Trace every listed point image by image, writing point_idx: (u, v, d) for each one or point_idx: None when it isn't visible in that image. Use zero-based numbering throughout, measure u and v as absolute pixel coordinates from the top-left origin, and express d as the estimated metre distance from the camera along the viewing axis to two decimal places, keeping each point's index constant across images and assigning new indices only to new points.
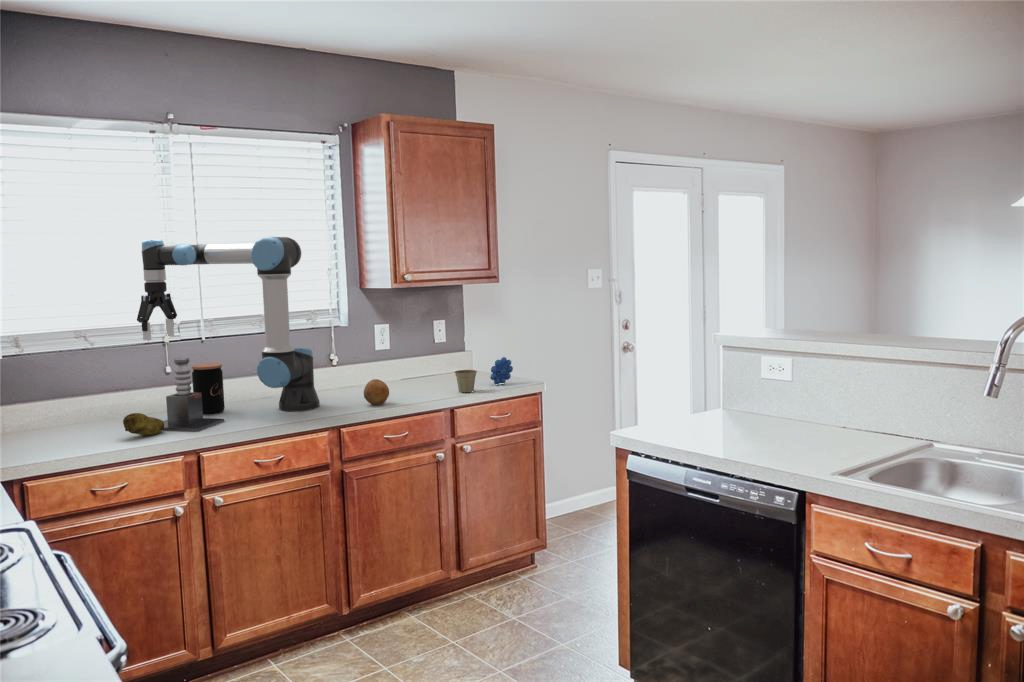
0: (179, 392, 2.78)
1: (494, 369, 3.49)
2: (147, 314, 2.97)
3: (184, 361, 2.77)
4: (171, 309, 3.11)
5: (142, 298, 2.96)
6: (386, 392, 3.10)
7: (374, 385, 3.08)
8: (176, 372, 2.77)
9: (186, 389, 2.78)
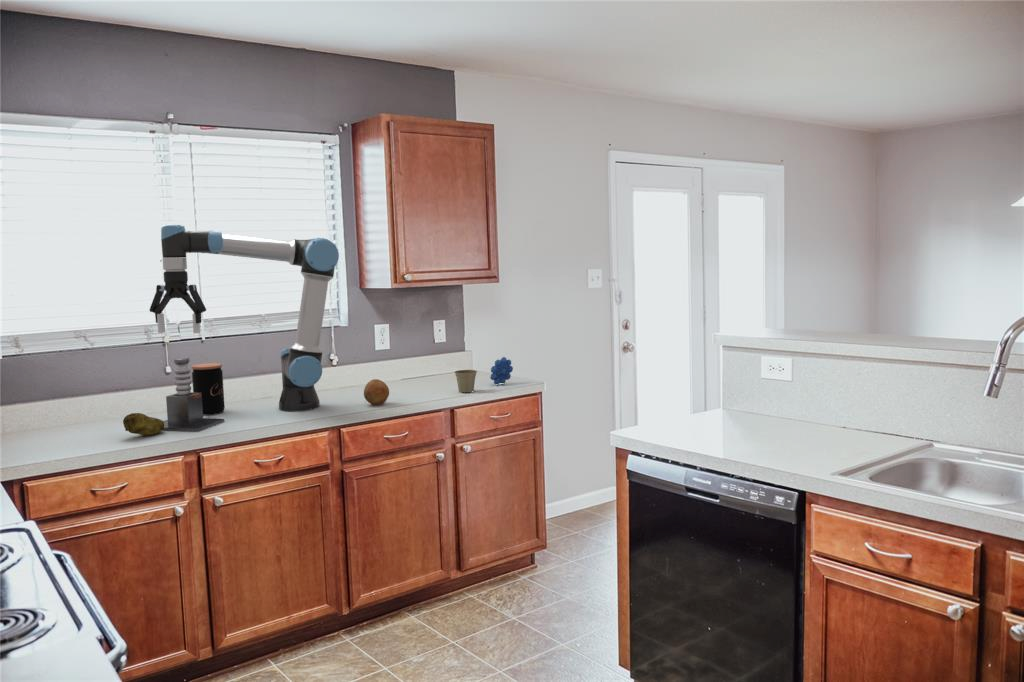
0: (179, 392, 2.78)
1: (494, 369, 3.49)
2: None
3: (184, 361, 2.77)
4: None
5: None
6: (386, 392, 3.10)
7: (374, 385, 3.08)
8: (176, 372, 2.77)
9: (186, 389, 2.78)
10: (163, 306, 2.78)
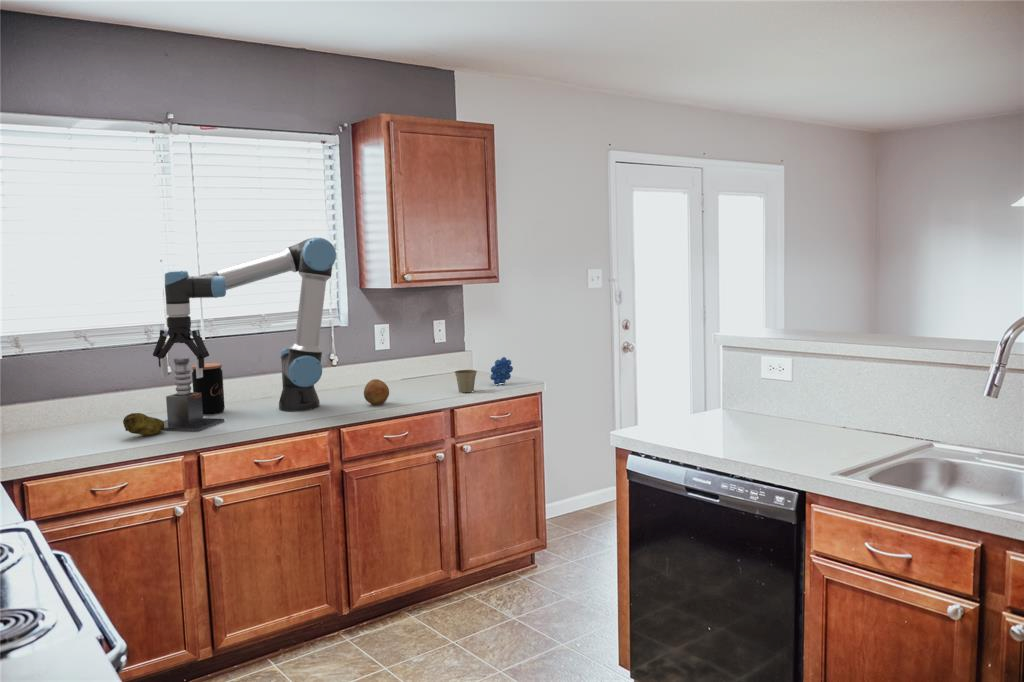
0: (179, 392, 2.78)
1: (494, 369, 3.49)
2: None
3: (184, 361, 2.77)
4: None
5: None
6: (386, 392, 3.10)
7: (374, 385, 3.08)
8: (176, 372, 2.77)
9: (186, 389, 2.78)
10: (166, 351, 2.79)
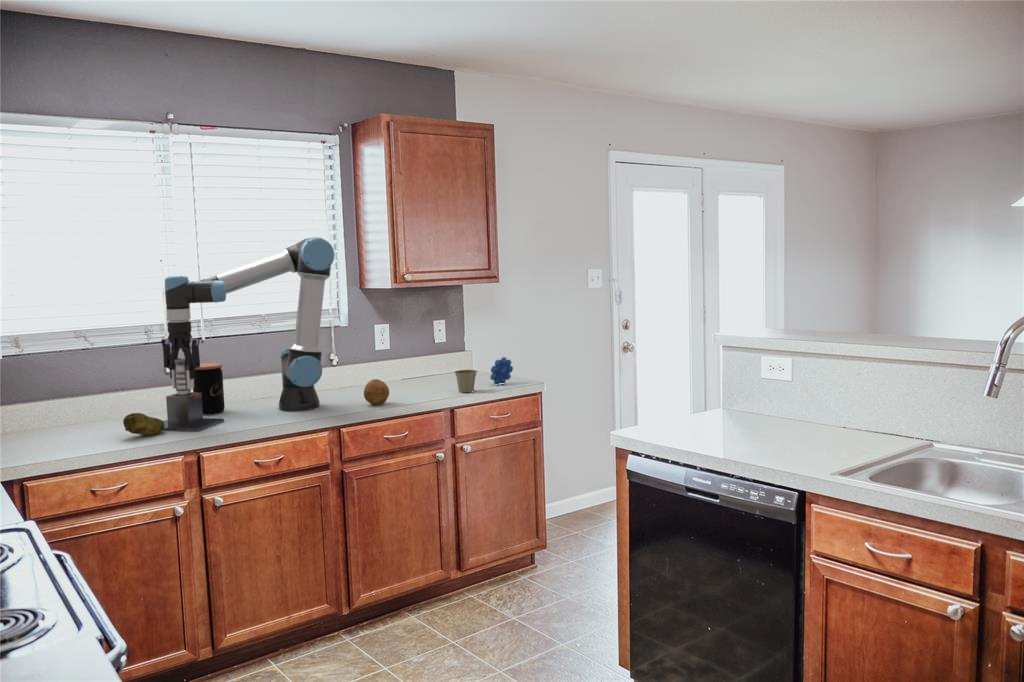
0: (179, 392, 2.78)
1: (494, 369, 3.49)
2: None
3: (184, 361, 2.77)
4: None
5: None
6: (386, 392, 3.10)
7: (374, 385, 3.08)
8: (176, 372, 2.77)
9: (186, 389, 2.78)
10: None
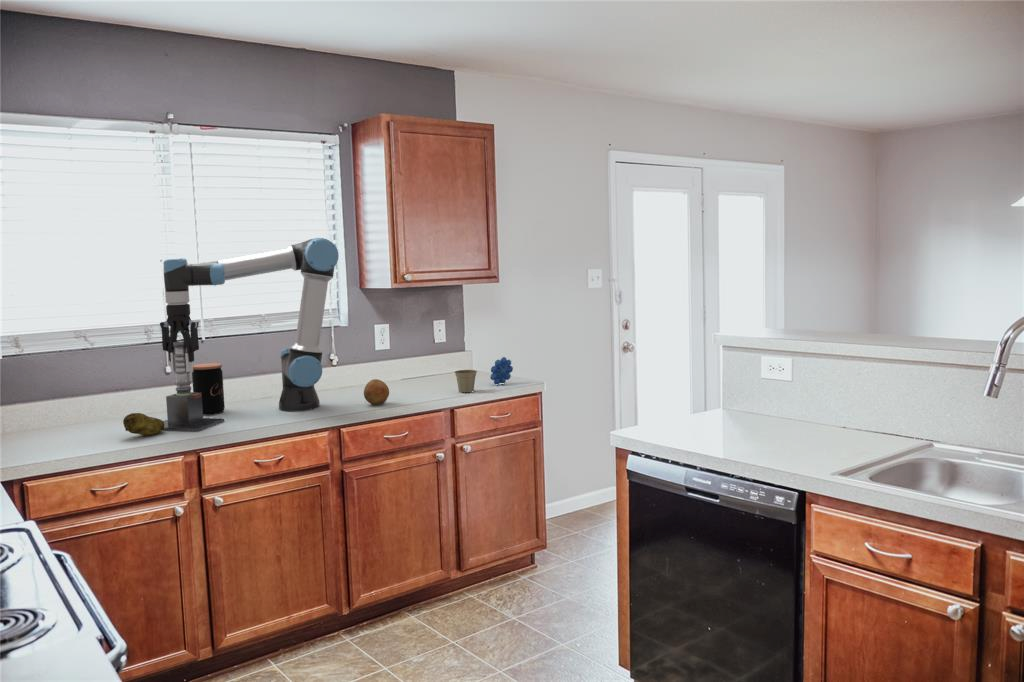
0: (178, 375, 2.77)
1: (494, 369, 3.49)
2: None
3: (183, 344, 2.76)
4: None
5: None
6: (386, 392, 3.10)
7: (374, 385, 3.08)
8: (175, 355, 2.76)
9: (185, 372, 2.77)
10: None
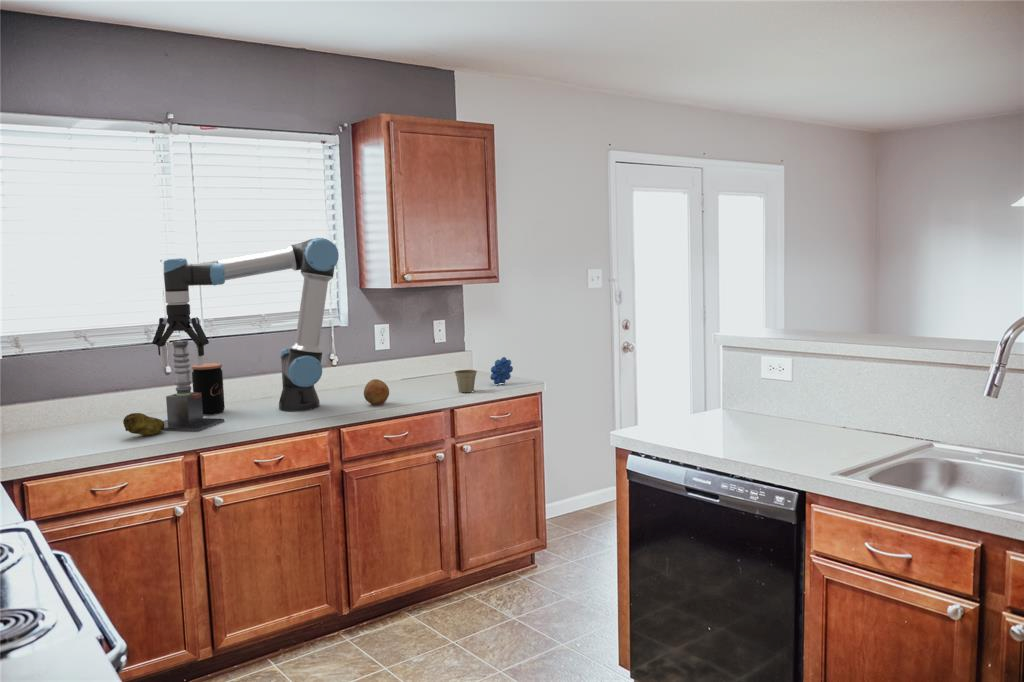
0: (178, 375, 2.77)
1: (494, 369, 3.49)
2: None
3: (183, 344, 2.76)
4: None
5: None
6: (386, 392, 3.10)
7: (374, 385, 3.08)
8: (175, 355, 2.76)
9: (185, 372, 2.77)
10: (166, 339, 2.79)
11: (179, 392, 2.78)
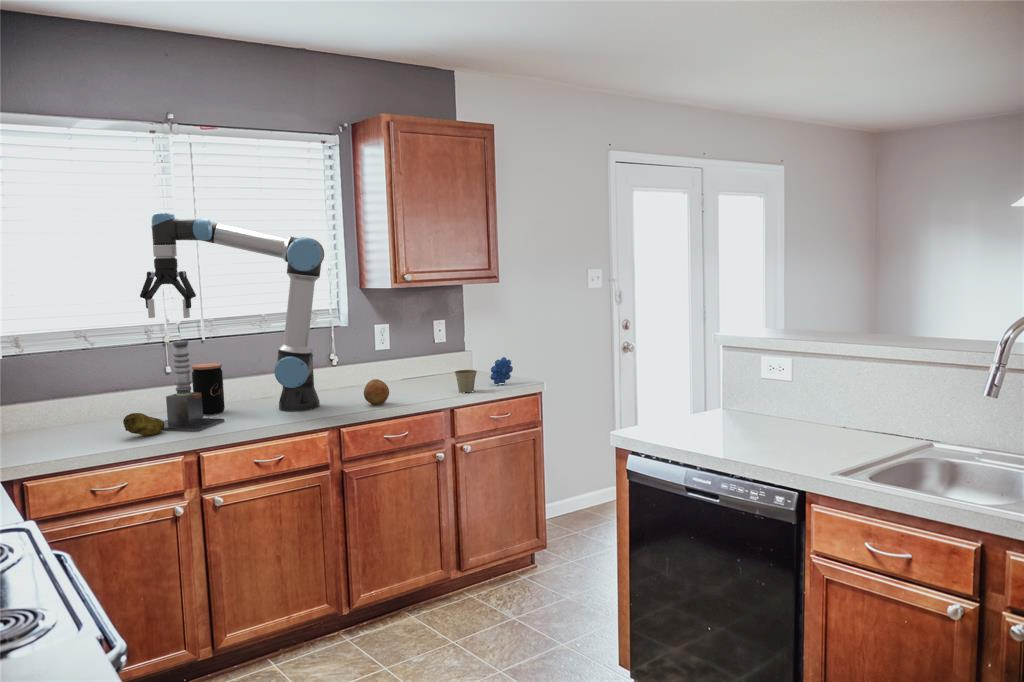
0: (178, 375, 2.77)
1: (494, 369, 3.49)
2: None
3: (183, 344, 2.76)
4: None
5: None
6: (386, 392, 3.10)
7: (374, 385, 3.08)
8: (175, 355, 2.76)
9: (185, 372, 2.77)
10: (153, 292, 2.87)
11: (179, 392, 2.78)
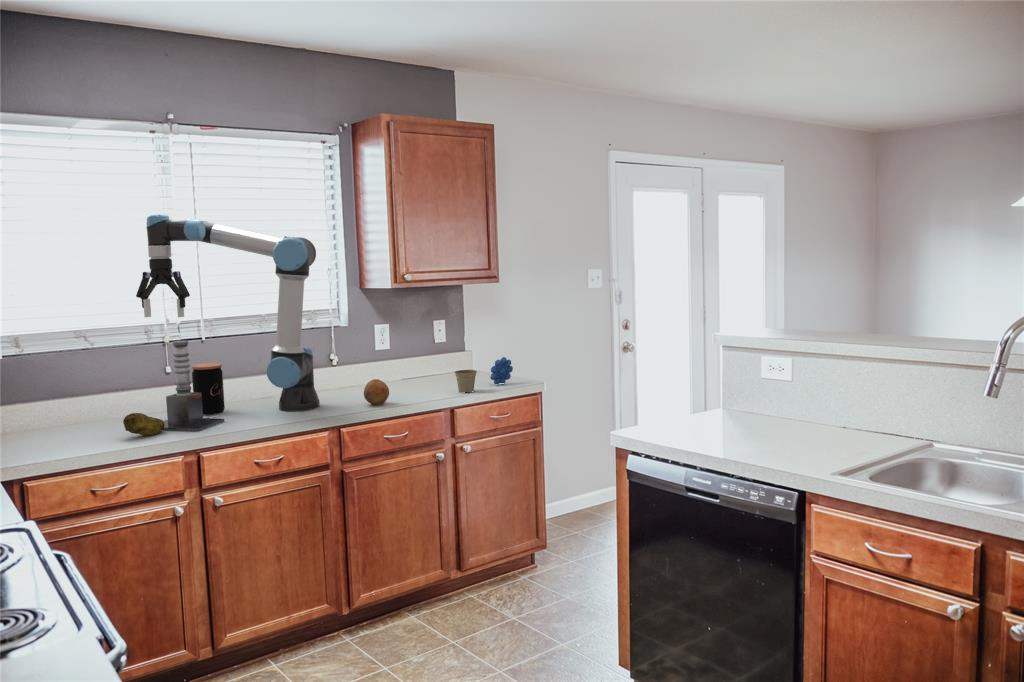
0: (178, 375, 2.77)
1: (494, 369, 3.49)
2: None
3: (183, 344, 2.76)
4: None
5: None
6: (386, 392, 3.10)
7: (374, 385, 3.08)
8: (175, 355, 2.76)
9: (185, 372, 2.77)
10: (149, 292, 2.93)
11: (179, 392, 2.78)
